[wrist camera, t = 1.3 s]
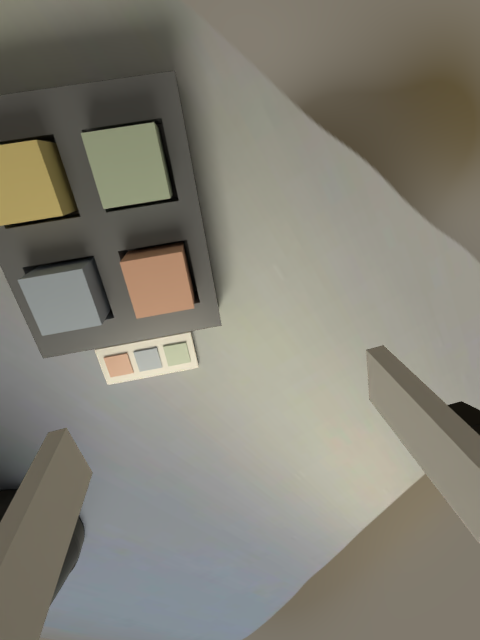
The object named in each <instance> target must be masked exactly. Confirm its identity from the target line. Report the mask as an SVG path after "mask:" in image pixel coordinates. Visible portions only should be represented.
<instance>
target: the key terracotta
mask: <svg viewBox="0 0 480 640" xmlns="http://www.w3.org/2000/svg"><path fill="white" fill-rule="evenodd" d="M120 265H121V269H122V272H123V275H124V279H125V282H126V285H127V289H128V292H129V295H130V299H131V302H132V305H133V309H134V312H135V315H136V318H137V319H138V318H144V317H150V316H155V315H161V314H166V313H172V312H177V311H183V310H188V309H194V290H193V285H192V281H191V276H190V271H189V267H188V262H187V257H186V253H185V248H184V243H183V242H179V243H173V244H167V245H161V246H155V247H149V248H143V249H137V250H131V251H128V252H127V253H126V255H125V256H124V257H123V259H122V260H121V261H120Z"/></svg>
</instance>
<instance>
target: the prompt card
mask: <svg viewBox="0 0 480 640" xmlns="http://www.w3.org/2000/svg"><path fill="white" fill-rule="evenodd" d="M95 353H96V355H97V358H98V361H99V363H100V366H101V369H102V371H103V374H104V377H105V379H106V382H107V384H108V385H110V384H115V383H121V382H126V381H131V380H136V379H142V378H147V377H152V376H157V375H163V374H168V373H173V372H178V371H183V370H189V369H194V368H199V366H198V360H197V356H196V352H195V347H194V343H193V338H192V334H191V331H189V332H184V333H178V334H173V335H167V336H162V337H157V338H151V339H146V340H140V341H135V342H130V343H124V344H119V345H113V346H108V347H103V348H97V349H95Z"/></svg>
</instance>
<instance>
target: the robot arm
mask: <svg viewBox="0 0 480 640" xmlns="http://www.w3.org/2000/svg"><path fill="white" fill-rule="evenodd" d="M366 354H367V371H368V387H369V400H370V401H371V402H372V404H373V405H374V406H375V408H376V409H377V410H378V412H379V413H380V414H381V416H382V417H383V418H384V420H385V421H386V422H387V423H388V425H389V426H390V427H391V429H392V430H393V431H394V433H395V434H396V435H397V437H398V438H399V439H400V441H401V442H402V443H403V445H404V446H405V447H406V448H407V450H408V451H409V452H410V454H411V455H412V456H413V458H414V459H415V460H416V462H417V463H418V464H419V466H420V467H421V468H422V469H423V471H424V472H425V473H426V475H427V476H428V477H429V479H430V480H431V481H432V483H433V484H434V485H435V486H436V488H437V489H438V490H439V492H440V493H441V494H442V496H443V497H444V498H445V500H446V501H447V502H448V504H449V505H450V506H451V507H452V509H453V510H454V511H455V513H456V514H457V515H458V517H459V518H460V519H461V521H462V522H463V523H464V525H465V526H466V527H467V529H468V530H469V531H470V532H471V533H472V535H473V536H474V538H475V539H476V540H477V542H478V543H480V410H478V409H476V408H474V407H472V406H470V405H468V404H466V403H464V402H462V401H461V402H457V403H454V404H450V405H447V404H445V403H444V402H443V401H442V400H441V399H440V398H439V397H438V396H437V395H436V394H435V393H434V392H433V391H432V390H431V389H429V388H428V387H427V386H426V385H425V384H424V383H423V382H422V381H421V380H420V379H419V378H418V377H417V376H416V375H414V374H413V373H412V372H411V371H410V370H409V369H408V368H407V367H406V366H405V365H404V364H403V363H402V362H401V361H399V360H398V359H397V358H396V357H395V356H394V355H393V354H392V353H391V352H390V351H389V350H388V349H387V348H386V347H384V346H379V347H375V348H371V349H367V350H366ZM91 476H92V471H91V469H90V467H89V466H88V464H87V462H86V461H85V459H84V457H83V455H82V454H81V452H80V450H79V449H78V447H77V445H76V443H75V442H74V440H73V438H72V437H71V435H70V433H69V431H68V430H67V428H64V429H60V430H56V431H52V432H48V434H47V436H46V438H45V440H44V442H43V444H42V445H41V447H40V449H39V451H38V453H37V455H36V457H35V458H34V460H33V462H32V464H31V466H30V468H29V470H28V472H27V473H26V475H25V477H24V479H23V481H22V483H21V485H20V486H19V488H18V490H4V491H0V640H39V638H40V635H41V631H42V628H43V625H44V622H45V619H46V616H47V613H48V610H49V607H50V605H51V603H52V602H53V600H54V599H55V597H56V595H57V594H58V592H59V590H60V589H61V587H62V585H63V584H64V582H65V580H66V579H67V577H68V575H69V573H70V572H71V571H72V570H73V568H74V567H75V565H76V563H77V561H78V558H79V555H80V552H81V548H82V545H83V541H84V528H83V525H82V523H81V521H80V519H79V518H78V517H79V514H80V510H81V507H82V504H83V501H84V498H85V495H86V492H87V489H88V486H89V482H90V479H91Z"/></svg>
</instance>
